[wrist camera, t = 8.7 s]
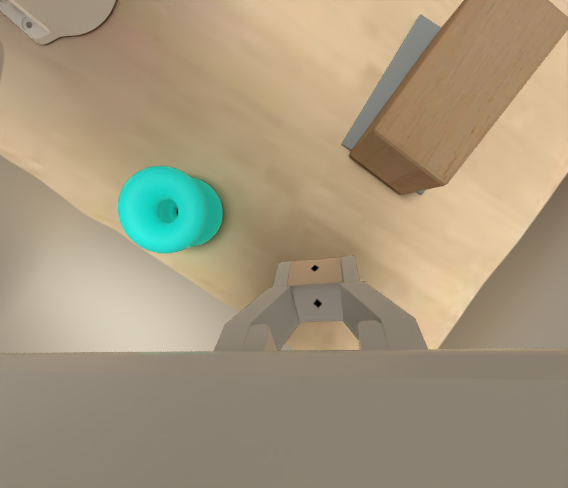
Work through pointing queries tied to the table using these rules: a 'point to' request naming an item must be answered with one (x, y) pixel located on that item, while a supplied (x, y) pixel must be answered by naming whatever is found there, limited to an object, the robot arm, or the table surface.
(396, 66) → the rubber mat
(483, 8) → the wooden block
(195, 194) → the donuts
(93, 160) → the table surface
